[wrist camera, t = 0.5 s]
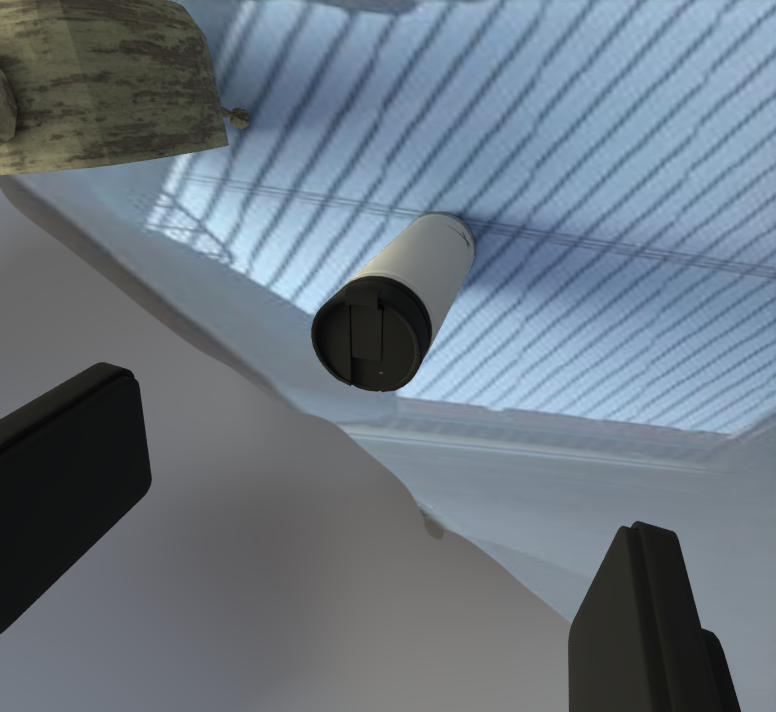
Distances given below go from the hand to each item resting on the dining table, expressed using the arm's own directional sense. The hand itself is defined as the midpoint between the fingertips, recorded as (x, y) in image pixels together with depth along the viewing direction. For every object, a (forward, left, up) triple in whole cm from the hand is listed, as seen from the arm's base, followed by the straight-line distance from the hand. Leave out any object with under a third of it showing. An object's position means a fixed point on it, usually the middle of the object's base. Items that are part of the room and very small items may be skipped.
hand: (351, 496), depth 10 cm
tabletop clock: (-3, -29, -36) cm, 46 cm away
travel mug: (+6, -5, -36) cm, 36 cm away
